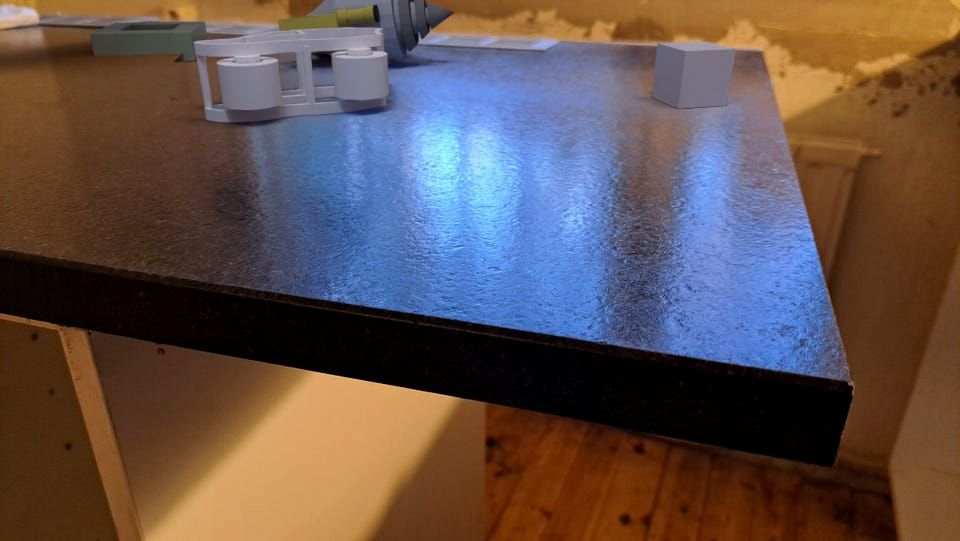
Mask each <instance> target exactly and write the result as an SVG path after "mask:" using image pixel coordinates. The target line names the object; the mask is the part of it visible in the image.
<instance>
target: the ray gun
mask: <svg viewBox="0 0 960 541" xmlns="http://www.w3.org/2000/svg"><path fill="white" fill-rule="evenodd" d="M455 13H456V12H455V11H453V10H450V9H448V8H445V7H443V6H441V5H437V4H435V3H432V2H430V1H426V0H324V1H322V2H321V3H320V4H319V5H318V6H317V7H316V8H315V9H314V10H312V11H311V12H309V13H308V14H307V15H301V16H300V15H299V16H295V17H288V18H279V19H278V20H277V22H278V23H277V24H278V31H290V30H303V29H323V28H383V36H384V52H386V53H387V58H388V65H390V64H391V60H397V59H404V58H406V57H407V54H408V52H409V53H411V52H412V51H413V50H414V49H415V48H416V47H417V46H418V45H419V41H420V39H421V40H424V39H425V38H426V36H427V35H429V34H430V32H431V30H434V29H435V28H436V27H438V26H439V25H440V24H442V23H443V22H445V21H446V20H447V19H449V17H450V16H452V15H454V14H455ZM369 48H371V50H376V51H377V46H376V47H369ZM340 51H347V50H334V51H314V52H311V55H318V54H327V55H329V56H331V54H333V53H335V52H340Z"/></svg>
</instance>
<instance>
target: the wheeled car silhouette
mask: <svg viewBox="0 0 960 541" xmlns="http://www.w3.org/2000/svg"><path fill="white" fill-rule="evenodd" d="M193 43H194V49H195V55H196V58H197V60H196V64H197V68H198V74H199V75H198V76H199V80H200V88H201V93H202V100H203V106H204V109H203V110H204V115H205V116H204V117H205V120H206V121H209V122H210V121H211V122H216V123H248V122H260V121H261V122H262V121H269V120H270V121H271V120H275V119H281V118H287V117H299V116H300V117H301V116H315V115H316V116H317V115H318V116H319V115H330V114H331V115H332V114H341V113H342V114H343V113H352V112H357V111H363V110H369V109H375V108H382V107H385V106H387V97H388V96H389V95H390V82H389V81H390V80H389V64H388V58H387V53H386V52H384V36H383V28H323V29H303V30H290V31H280V30H277V31H276V30H275V31H269V32H263V33H255V34H248V35H243V36H239V37H230V38H218V39H217V38H215V39H208V40H203V41H196V42H193ZM376 46H377V51H376V50H371V48H369V47H376ZM334 50H347V51H340V52H335V53H333V54H331V55H330V57H331V58H330V59H331V68H332V69H331V70H332V82H333V85H328V86H327V85H326V86H315V85H314V84H315V83H314V73H313V62H312V53H311V52H314V51H334ZM285 53H286V54H288V53H295V61H296V62H295V64H296V70H297V71H296V72H297V81H298V88H296V89H288V90H282V86H281V85H282V84H281V74H280V67H279V59H277V58H276V57H271V56H264V55H273V54H285ZM262 55H263V56H262ZM206 57H211V58H212V57H213V58H214V57H215V58H219V57H220V58H223V59H219V60H217V61H216V68H217V75H218V82H219V88H220V95H221V101H222V103H217V104H214V102H213V96H212V91H211V84H210V83H211V82H210V78H209V72H208V71H209V70H208V64H207V59H206ZM225 57H227V58H225ZM228 57H230V58H228ZM322 98H338V99H341V100H335V101H334V100H333V101H322V102H316V99H322ZM342 99H343V100H342Z"/></svg>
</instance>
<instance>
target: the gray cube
mask: <svg viewBox="0 0 960 541" xmlns="http://www.w3.org/2000/svg"><path fill="white" fill-rule="evenodd" d="M655 51H656V52H655V61H654V70H653V79H652V89H651V98H652V99H655V100H657V101H659V102H661V103H663V104H665V105H666V104H667V105H668V106H671V107H673V108H675V109H677V110H679V109H695V108H710V107H712V108H713V107H726V106H728V100H729V95H730V89H731V82H732V76H733V69H734V63H735V56H736V51H737V49H736V48H733V47H730V46H726V45H721V44H716V43H713V42H709V41H705V40H704V41H703V40H702V41H680V42H675V41H674V42H657V43H656V50H655Z"/></svg>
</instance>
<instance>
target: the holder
mask: <svg viewBox="0 0 960 541" xmlns="http://www.w3.org/2000/svg"><path fill="white" fill-rule="evenodd" d="M89 38H90V42H91V47H92V51H93V56H94V57H95V56H97V57H98V56H100V57H101V56H140V55H141V56H142V55H146V56H147V55H179V56H178V57H177V58H176V59H174V61H173V62H174V63H176V62H177V61H183V62H196V61H197V60H196V59H197V58H196V55H195V49H194V43H193V42H196V41H203V40H209V39H208V32H207V27H206V21H204V20H203V21H202V20H201V21H143V22H140V21H139V22H138V21H137V22H136V21H135V22H133V21H132V22H114V23H111V24H108V25H107V26H105V27H102V28H100V29H97V30H96V31H92V32H90V33H89ZM195 60H196V61H195Z"/></svg>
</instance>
